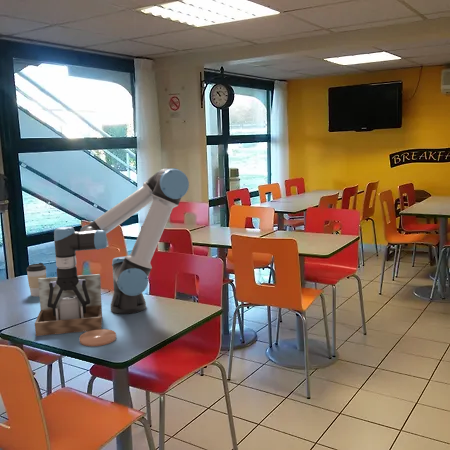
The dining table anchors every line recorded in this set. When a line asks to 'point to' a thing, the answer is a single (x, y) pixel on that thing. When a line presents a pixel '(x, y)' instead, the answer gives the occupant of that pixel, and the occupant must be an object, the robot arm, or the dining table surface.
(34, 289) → the coffee cup
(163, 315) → the dining table surface
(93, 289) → the hinged wooden box
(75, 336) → the dining table surface
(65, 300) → the can
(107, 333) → the brown wooden disc
